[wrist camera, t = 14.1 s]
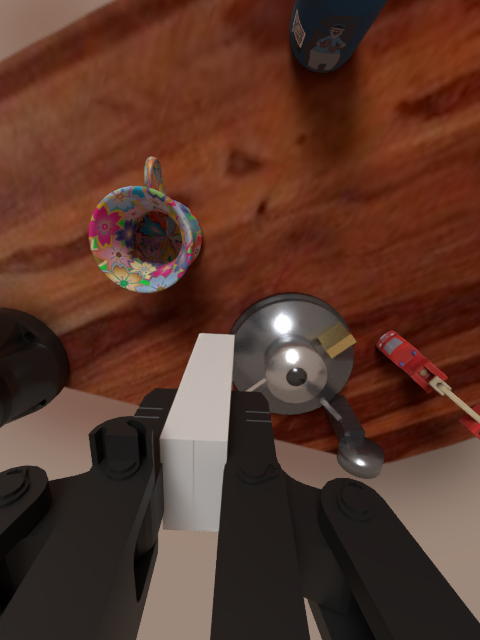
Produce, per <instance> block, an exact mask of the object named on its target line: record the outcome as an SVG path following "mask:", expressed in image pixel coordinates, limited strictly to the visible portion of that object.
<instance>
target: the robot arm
mask: <svg viewBox="0 0 480 640" xmlns="http://www.w3.org/2000/svg"><path fill="white" fill-rule="evenodd" d="M234 338H235V335H225V334H204V333H199V336H198V339H197V341H196V344H195V346H194V349H193V352H192V354H191V357H190V360H189V362H188V365H187V368H186V370H185V373H184V375H183V378H182V381H181V383H180V386H179V389H162V388H155V389H154V390H153V391H151V392H150V393H149V394H147V395H146V396H145V397H144V399H143V400H142V402H141V404H140V406H139V409H138V410H137V411H136V413H135V415H134V417H133V416H127V417H118V418H114V419H111V420H107V421H106V422H104V423H102V424H100V425H98V426H97V427H95V428H94V429H93V430H92V431H91V432H90V433H89V441H90V449H91V457H92V465H93V466H92V468H91V469H90V471H88V472H86V473H83V474H79V475H76V476H71V477H66V478H62V479H56V480H51V481H48V477H47V474H46V472H45V470H43V469H41V468H39V467H38V466H20V467H15V468H11V469H8V470H6V471H3V472H1V473H0V640H136V638H137V633H138V629H139V626H140V621H141V617H142V613H143V610H144V606H145V602H146V598H147V594H148V590H149V586H150V582H151V578H152V574H153V570H154V566H155V562H156V558H157V554H158V531H159V528H160V524H161V520H162V517H163V529H167V530H168V529H169V530H190V531H191V530H192V531H213V532H219V534H218V547H217V560H216V574H215V585H214V586H215V587H214V598H213V610H212V624H211V636H210V640H310V635H309V630H308V623H307V616H306V610H305V604H304V598H303V597H305V598H307V599H308V603H309V605H310V608H311V611H312V613H313V616H314V619H315V621H316V624H317V627H318V629H319V632H320V635H321V638H322V640H480V623H479V622H478V621H477V619H476V618H475V617H474V616H473V614H472V613H471V611H469V609H468V608H467V606H465V604H464V602H463V601H462V600H461V599H460V597H459V596H458V595H457V593H456V592H455V591H454V589H453V588H452V587H451V586H450V584H449V583H448V582H447V580H446V579H445V578H444V577H443V575H442V574H441V573H440V571H439V570H438V569H437V568H436V566H435V565H434V564H433V562H432V561H431V560H430V558H429V557H428V556H427V555H426V553H425V552H424V551H423V550H422V548H421V547H420V546H419V544H418V543H417V542H416V540H415V539H414V538H413V537H412V535H411V534H410V533H409V531H408V530H407V529H406V527H405V526H404V525H403V524H402V522H401V521H400V520H399V518H398V517H397V516H396V514H395V513H394V512H393V511H392V509H391V508H390V507H389V505H388V504H387V503H386V502H385V500H384V499H383V498H382V497H381V496H380V495H379V494H378V493H377V492H376V491H375V490H374V489H372V488H370V487H369V486H367V485H366V484H364V483H362V482H360V481H356V480H353V479H350V478H336V479H334V480H331V481H328V482H327V483H326V484H325V486H324V487H323V488H322V490H321V489H318V488H315V487H311V486H309V485H305V484H303V483H301V482H298V481H296V480H295V479H293V478H291V477H290V476H288V475H287V474H286V473H285V472H284V471H283V470H282V468H281V466H280V464H279V463H278V461H277V458H276V452H275V445H274V437H273V430H272V423H271V416H270V409H269V403H268V400H267V399H266V398H265V396H264V395H263V394H262V393H261V392H250V391H232V381H233V359H234ZM67 377H68V360H67V356H66V353H65V350H64V348H63V346H62V344H61V342H60V341H59V339H58V338H57V336H56V335H55V334H54V333H53V332H52V331H51V330H50V329H49V328H48V327H47V326H46V325H45V324H44V323H42V322H41V321H40V320H38V319H37V318H35V317H33V316H31V315H29V314H27V313H25V312H22V311H19V310H15V309H10V308H0V427H2V426H3V425H4V424H7V423H9V422H12V421H14V420H16V419H19V418H21V417H23V416H26V415H28V414H31V413H33V412H35V411H38V410H40V409H41V408H43V407H44V406H46V405H47V404H48V403H50V402H51V401H52V400H53V399H54V398H55V397H56V396H57V395H58V394H59V393H60V392H61V390H62V389H63V387H64V386H65V383H66V381H67Z"/></svg>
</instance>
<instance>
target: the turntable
mask: <svg viewBox="0 0 480 640" xmlns="http://www.w3.org/2000/svg"><path fill="white" fill-rule="evenodd" d="M289 334H295V335H300V336H303V337H305V338H307V339H308V340H310V341H311V342H312V343H313V344H314V346H315V348H316V349H317V351H318V353H319V354H320V356H321V358H322V360H323V361H324V363H325V365H326V368H327V381H326V384H325V386H324V388H323V389H322V391H321V392H320V393H319V394H318V395H317V396H316V397H314V398H313V399H311V400H309V401H306V402H302V403H288V402H285V401H282V400H280V399H278V398H277V397H275V396H274V395H273V394H272V393H271V391H270V390H269V388H268V385H267V382H266V375H265V368H264V354H265V351H266V349H267V347H268V346H269V345H270V343H271V342H272V341H274V340H275V339H277V338H279V337H281V336H284V335H289ZM234 335H235V338H234V359H233V381H234V384H235V385H236V387H237V389H238V390H239V391H250V392H261V393H262V394H263V395H264V396H265V398H266V399H267V400H268V403H269V409H270V412H272V413H277V414H288V415H290V414H300V413H305V412H308V411H312V410H314V409H317V408H319V407H321V406H322V405H323V404H322V403H321V402H320V400H319V399H321V398H322V397H324V398H325V399H326V400H327V402H329V401H330V400H331V399H333V398H334V397H335V396H336V395H337V394H338V393H339V392H340V391H341V389H342V388H343V387H344V385H345V384H346V382H347V380H348V378H349V376H350V373H351V370H352V366H353V361H354V351H353V344H354V343H356V340H355V339H354V338H353V336H352V335H351V334H350V333H349V331H348V330H347V329H346V328H345V326H344V325H343V323H342V322H341V321H340V320H339V319H338V318H337V317H336V316H335V315H334V314H333V313H332V312H331V311H330V310H328V309H327V308H325V307H323V306H322V305H319V304H317V303H315V302H312V301H309V300H304V299H293V298H290V299H281V300H276V301H273V302H270V303H267V304H265V305H263V306H261V307H259V308H257V309H256V310H254V311H253V312H252V313H251V314H249V315H248V316H247V317H246V318H245V319H244V320H243V321H242V323H241V324H240V325H239V327H238V328H237V330H236V332H235V334H234Z"/></svg>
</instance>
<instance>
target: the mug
mask: <svg viewBox="0 0 480 640" xmlns="http://www.w3.org/2000/svg"><path fill="white" fill-rule="evenodd" d="M153 169H154V173H155V177H156V183H157V190H154V189H153V183H152V175H153ZM144 186H145V187H142V186H129V187H124V188H121V189H118V190H116V191H113V192H112V193H110V194H109V195H107V196H106V197H105V198H104V199H103V200H102V201H101V202H100V203H99V204H98V206H97V207H96V209H95V211H94V213H93V215H92V218H91V221H90V226H89V243H90V248H91V251H92V254H93V257H94V259H95V261H96V263H97V264H98V266H99V267H100V269H101V270H102V271H103V273H104V274H105V275H106V276H107V277H108V278H109V279H110V280H112V281H113V282H114V283H116V284H117V285H119V286H121V287H123V288H125V289H127V290H130V291H134V292H139V293H154V292H159V291H162V290H164V289H167V288H169V287H170V286H172V285H173V284H175V283H176V282H177V281H178V280H179V279H180V278H181V277H182V276H183V275H184V273H185V272H186V270H187V269H188V266H189V265H190V264H192V262H193V261H194V260H195V259H196V257H197V256H198V254H199V251H200V248H201V244H202V233H201V228H200V225H199V223H198V220H197V219H196V217H195V215H194V214H193V213H192V212H191V211H190V210H189V209H188V208H187V207H186V206H185V205H183V204H181V203H180V202H177V201H175V200H171V199H170V198H169V197H168V196H166V195H165V191H164V181H163V175H162V170H161V166H160V163H159V161H158V160H157V159H156V158H155V157H148V158H147V160H146V163H145V168H144Z"/></svg>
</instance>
